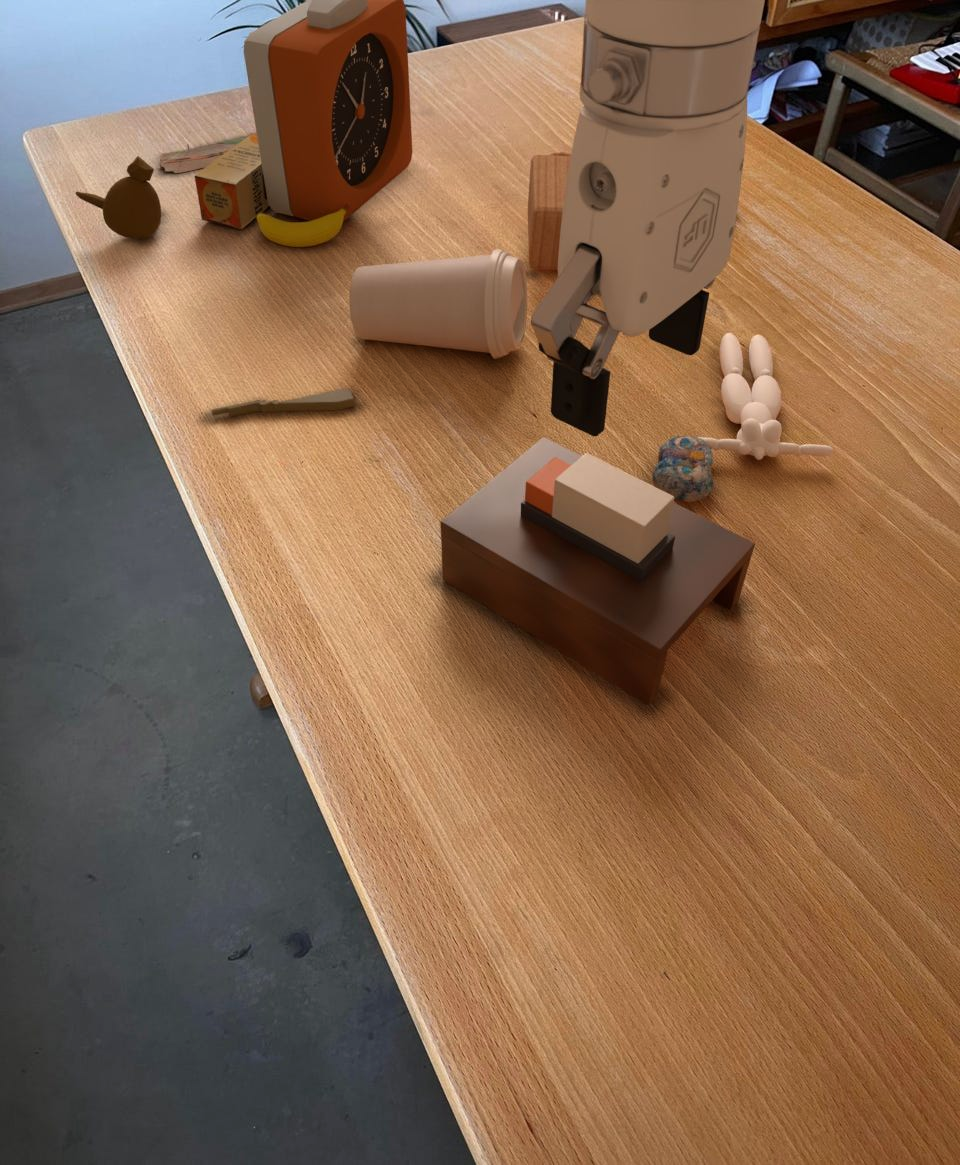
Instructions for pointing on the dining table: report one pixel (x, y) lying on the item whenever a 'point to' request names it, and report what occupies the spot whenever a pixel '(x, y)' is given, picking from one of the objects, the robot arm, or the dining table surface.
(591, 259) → the robot arm
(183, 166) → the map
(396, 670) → the dining table surface
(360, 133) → the alarm clock
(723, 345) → the decorative figure
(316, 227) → the fruit
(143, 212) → the figurine
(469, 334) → the coffee cup
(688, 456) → the decorative stone
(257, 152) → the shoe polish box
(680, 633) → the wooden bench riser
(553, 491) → the tricolour layered block
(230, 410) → the olive tapered flat bar
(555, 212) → the decorative item
